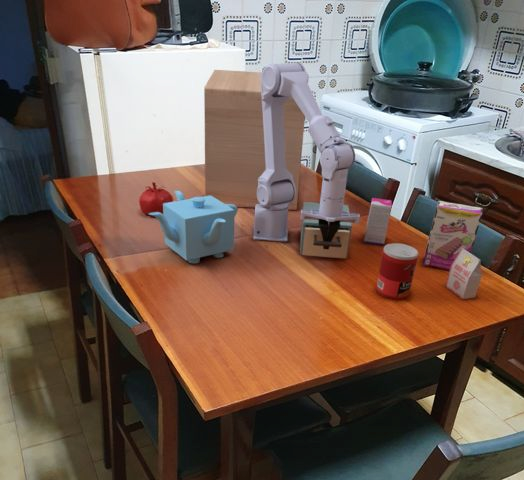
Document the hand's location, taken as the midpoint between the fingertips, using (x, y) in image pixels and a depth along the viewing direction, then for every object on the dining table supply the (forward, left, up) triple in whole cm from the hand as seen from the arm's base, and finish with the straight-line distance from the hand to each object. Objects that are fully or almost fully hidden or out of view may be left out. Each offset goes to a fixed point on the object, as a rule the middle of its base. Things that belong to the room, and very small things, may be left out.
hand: (325, 247), depth 140 cm
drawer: (0, +7, -3) cm, 8 cm away
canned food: (+16, -13, -5) cm, 21 cm away
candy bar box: (+32, +4, -5) cm, 33 cm away
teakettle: (-34, 0, -5) cm, 34 cm away
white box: (+33, -10, -5) cm, 35 cm away
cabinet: (0, +12, -4) cm, 13 cm away
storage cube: (-23, +54, -5) cm, 59 cm away
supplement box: (+15, +18, -5) cm, 24 cm away
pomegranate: (-50, +27, -5) cm, 57 cm away
